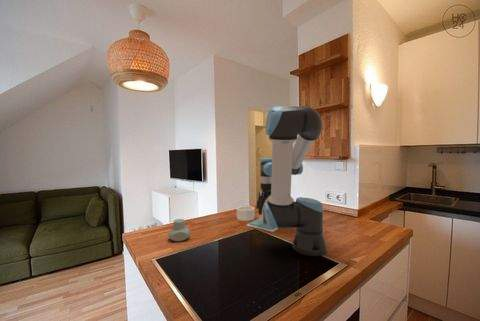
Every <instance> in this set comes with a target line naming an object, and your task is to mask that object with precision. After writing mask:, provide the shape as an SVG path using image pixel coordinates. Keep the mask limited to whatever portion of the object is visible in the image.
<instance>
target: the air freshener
mask: <svg viewBox="0 0 480 321" xmlns="http://www.w3.org/2000/svg"><path fill="white" fill-rule="evenodd" d="M172 222H173V228H172V229H170V231H169V232H168V238H169V239H171V240H172V241H173V242H183V241H185V240H187V239H188V238H189V236H190V235H191V230H190V229H189V227H187V226H186V220H185V219H183V218H178V219H174V220H173V221H172Z"/></svg>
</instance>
